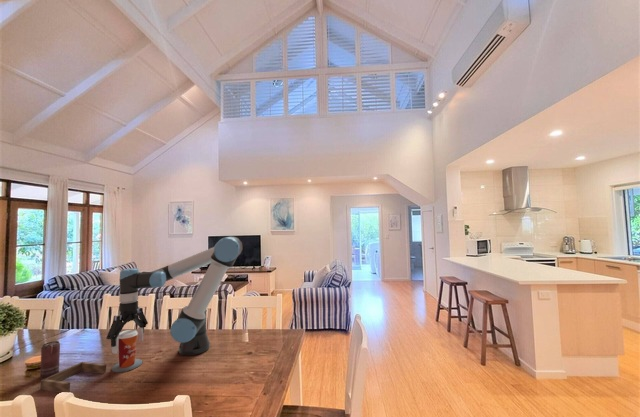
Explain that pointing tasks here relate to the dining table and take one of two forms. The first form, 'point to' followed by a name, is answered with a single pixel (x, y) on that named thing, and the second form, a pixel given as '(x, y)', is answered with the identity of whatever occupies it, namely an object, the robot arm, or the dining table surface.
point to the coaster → (135, 365)
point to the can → (50, 359)
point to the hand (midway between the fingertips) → (128, 346)
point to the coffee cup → (127, 348)
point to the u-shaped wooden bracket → (56, 380)
